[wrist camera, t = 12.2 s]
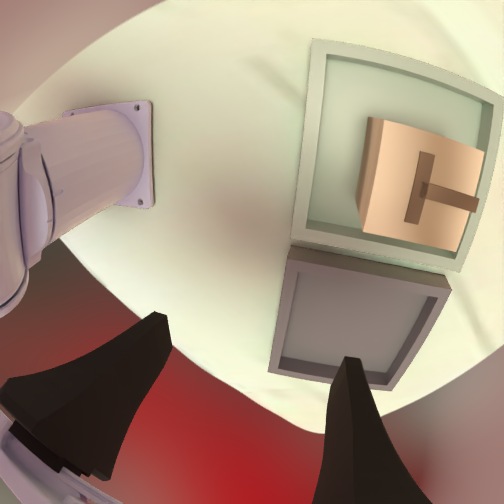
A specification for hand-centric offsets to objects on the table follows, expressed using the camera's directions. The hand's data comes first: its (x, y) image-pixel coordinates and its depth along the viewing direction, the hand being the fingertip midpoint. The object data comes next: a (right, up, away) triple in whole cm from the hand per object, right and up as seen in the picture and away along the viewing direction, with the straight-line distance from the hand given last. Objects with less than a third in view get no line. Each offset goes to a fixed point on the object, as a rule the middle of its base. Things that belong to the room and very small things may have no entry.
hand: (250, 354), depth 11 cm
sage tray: (+9, +10, +4) cm, 14 cm away
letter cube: (+9, +9, +4) cm, 13 cm away
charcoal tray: (+8, -2, +10) cm, 13 cm away
